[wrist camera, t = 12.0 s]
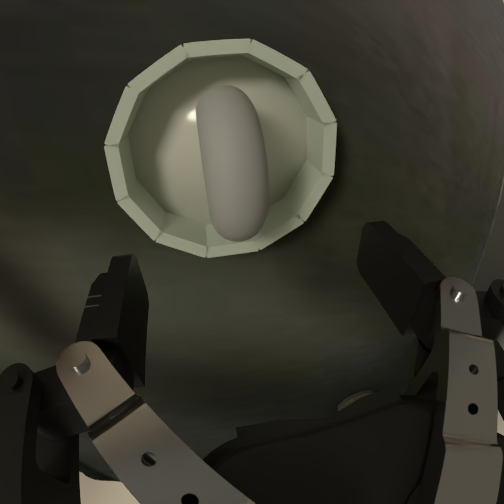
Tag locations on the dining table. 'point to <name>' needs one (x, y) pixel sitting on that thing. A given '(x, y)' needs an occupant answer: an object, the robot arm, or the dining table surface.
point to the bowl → (188, 148)
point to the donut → (233, 162)
